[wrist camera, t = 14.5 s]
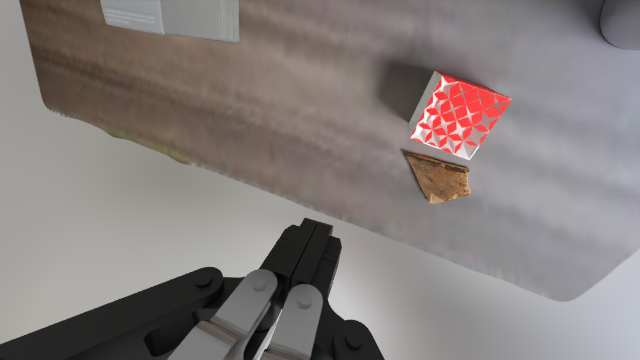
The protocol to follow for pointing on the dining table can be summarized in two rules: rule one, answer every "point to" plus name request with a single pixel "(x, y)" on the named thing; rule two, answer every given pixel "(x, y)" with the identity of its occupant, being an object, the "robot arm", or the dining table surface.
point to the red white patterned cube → (456, 115)
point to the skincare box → (177, 17)
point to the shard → (439, 178)
